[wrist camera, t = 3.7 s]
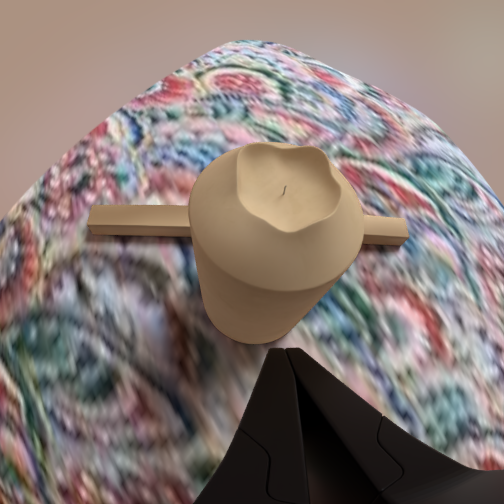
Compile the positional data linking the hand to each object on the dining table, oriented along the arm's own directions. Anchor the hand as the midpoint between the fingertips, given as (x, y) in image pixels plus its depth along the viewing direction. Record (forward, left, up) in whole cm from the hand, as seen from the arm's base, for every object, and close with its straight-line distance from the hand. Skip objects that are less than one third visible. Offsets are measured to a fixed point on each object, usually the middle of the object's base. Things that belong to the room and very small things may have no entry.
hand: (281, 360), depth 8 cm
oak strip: (+9, 0, -8) cm, 12 cm away
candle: (+4, 0, -8) cm, 9 cm away
